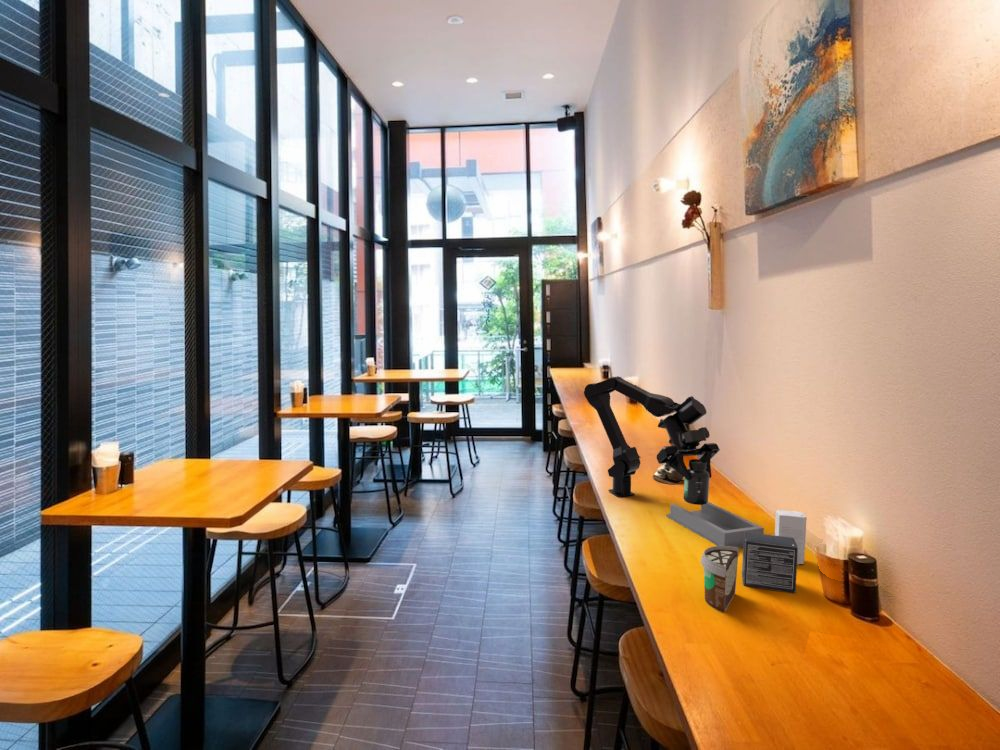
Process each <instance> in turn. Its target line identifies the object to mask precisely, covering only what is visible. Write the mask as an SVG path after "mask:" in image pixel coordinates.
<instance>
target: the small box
mask: <svg viewBox="0 0 1000 750" xmlns="http://www.w3.org/2000/svg"><path fill="white" fill-rule="evenodd" d="M797 555H798V546H797V544H796V542H795V540H794V538H791V537H783V536H775V534H774V535H773V534H765V533H763V534H757V533H749V532H744V542H743V547H742V564H741V566H742V567H741V568H742V570H741V578H742V584H743V586H744V587H750V588H756V589H763V590H771V591H776V592H782V593H783V592H784V593H789V594H796V593H797V573H798V571H797V570H798V569H797V568H798V567H797V566H798V564H797Z"/></svg>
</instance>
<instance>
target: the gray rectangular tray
mask: <svg viewBox="0 0 1000 750" xmlns="http://www.w3.org/2000/svg"><path fill="white" fill-rule="evenodd" d="M669 506H670V509H669V510H670V511H669V513H667V514H666V515H665V516H666V517H667V518H668V519H670V520H672V521H673V522H675V523H677V524H679V525H681V526H682V527H684V528H686V529H687V530H690V531H691V532H692V533H695V534H696V535H698V536H699V537H702V538H703V539H705V540H707V541H709V542H710V543H712V544H714V545H715V546H731V547H737V548H739V549H740V548H743V542H744V532H749V533H757V534H765V533H764V531H765V530H764V529H765V528H764V527H763V526H761V525H758V524H756V523H754V522H752V521H750V520H748V519H746V518H744V517H741V516H739V515H737V514H735V513H733V512H731V511H729V510H728V509H727V510H726V508H725V509H724V508H722V507H721V506H718V505H716V504H714V503H712V502H710V501H708V502H707V503H706V504H704V505H700V509H701V510H700V509H699V510H691V511H689V510H687V509H685V508H684V507H682V506H679V505H678V504H676V503H672V504H670V505H669Z"/></svg>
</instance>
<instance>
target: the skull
mask: <svg viewBox="0 0 1000 750" xmlns="http://www.w3.org/2000/svg"><path fill="white" fill-rule="evenodd" d="M652 478H653V479H654V480H655V481H657V482H658V483H659V482H660V483H662V484H663V483H664V484H667V485H680V483H684V478H685V477H683V476H682V475H681V474H680V473H679V472H677V471H676V470H675V469H673V468H672V467H670V466H669V465H668V466H667V465H666V463H663V464H662V465H660V466H659V467H658V468H657V471H656V472H655V473H654V474H653V476H652Z"/></svg>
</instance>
